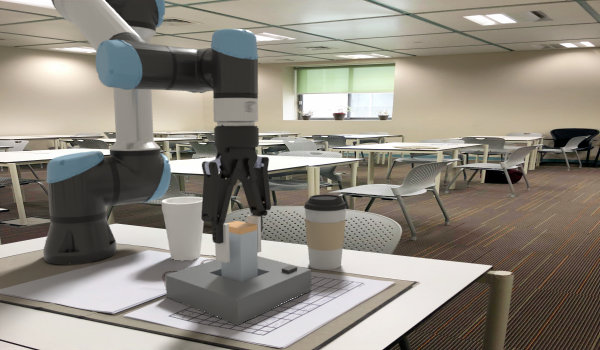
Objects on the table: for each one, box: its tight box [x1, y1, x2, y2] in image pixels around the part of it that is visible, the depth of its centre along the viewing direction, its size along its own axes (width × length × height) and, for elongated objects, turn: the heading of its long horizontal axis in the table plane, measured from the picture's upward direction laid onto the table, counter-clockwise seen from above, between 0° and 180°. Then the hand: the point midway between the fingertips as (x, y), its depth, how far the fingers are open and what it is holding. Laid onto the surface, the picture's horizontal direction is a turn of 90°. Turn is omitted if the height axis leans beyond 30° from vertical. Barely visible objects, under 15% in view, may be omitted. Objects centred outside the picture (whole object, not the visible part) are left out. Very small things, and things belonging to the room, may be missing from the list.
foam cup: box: [161, 196, 205, 261], centre depth 105 cm, size 10×9×13 cm
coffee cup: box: [303, 193, 348, 271], centre depth 99 cm, size 9×9×15 cm
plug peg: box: [221, 220, 258, 282], centre depth 82 cm, size 5×4×12 cm
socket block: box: [165, 255, 312, 326], centre depth 83 cm, size 18×18×5 cm
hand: (239, 255), depth 82 cm, fingers open, 7 cm apart
